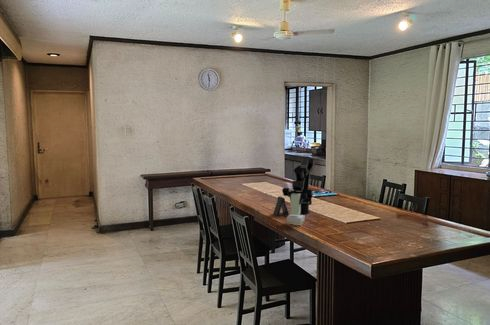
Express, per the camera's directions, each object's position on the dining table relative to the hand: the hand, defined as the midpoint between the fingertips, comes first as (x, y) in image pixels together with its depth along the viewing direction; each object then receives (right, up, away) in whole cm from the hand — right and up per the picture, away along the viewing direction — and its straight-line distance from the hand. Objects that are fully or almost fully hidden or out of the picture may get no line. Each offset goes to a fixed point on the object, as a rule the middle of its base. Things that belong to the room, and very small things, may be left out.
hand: (295, 203), depth 241 cm
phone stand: (-6, -10, +26) cm, 28 cm away
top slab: (+1, -10, +2) cm, 11 cm away
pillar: (+1, -6, +2) cm, 7 cm away
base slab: (+1, -13, +3) cm, 13 cm away
